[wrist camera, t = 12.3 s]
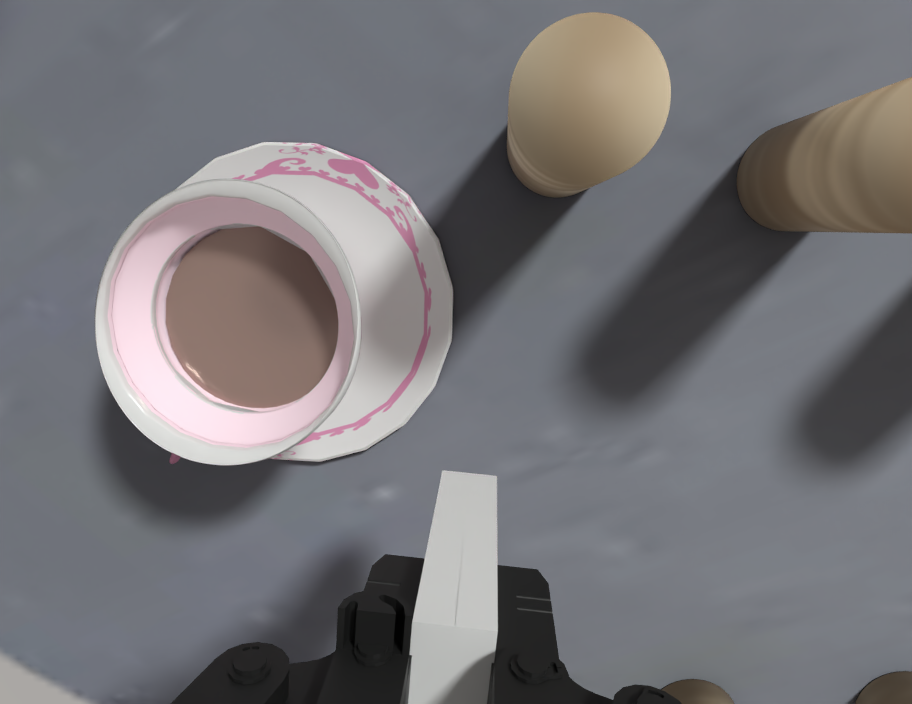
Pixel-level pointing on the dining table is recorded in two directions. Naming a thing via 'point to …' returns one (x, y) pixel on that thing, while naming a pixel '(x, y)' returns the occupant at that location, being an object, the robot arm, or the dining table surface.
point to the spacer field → (758, 179)
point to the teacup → (275, 309)
